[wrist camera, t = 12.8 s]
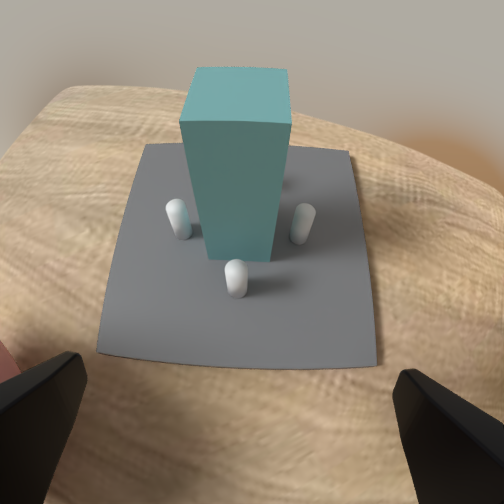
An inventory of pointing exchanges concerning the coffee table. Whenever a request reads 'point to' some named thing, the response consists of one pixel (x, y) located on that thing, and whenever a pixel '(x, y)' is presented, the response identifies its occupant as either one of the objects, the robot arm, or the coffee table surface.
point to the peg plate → (242, 275)
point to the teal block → (237, 156)
